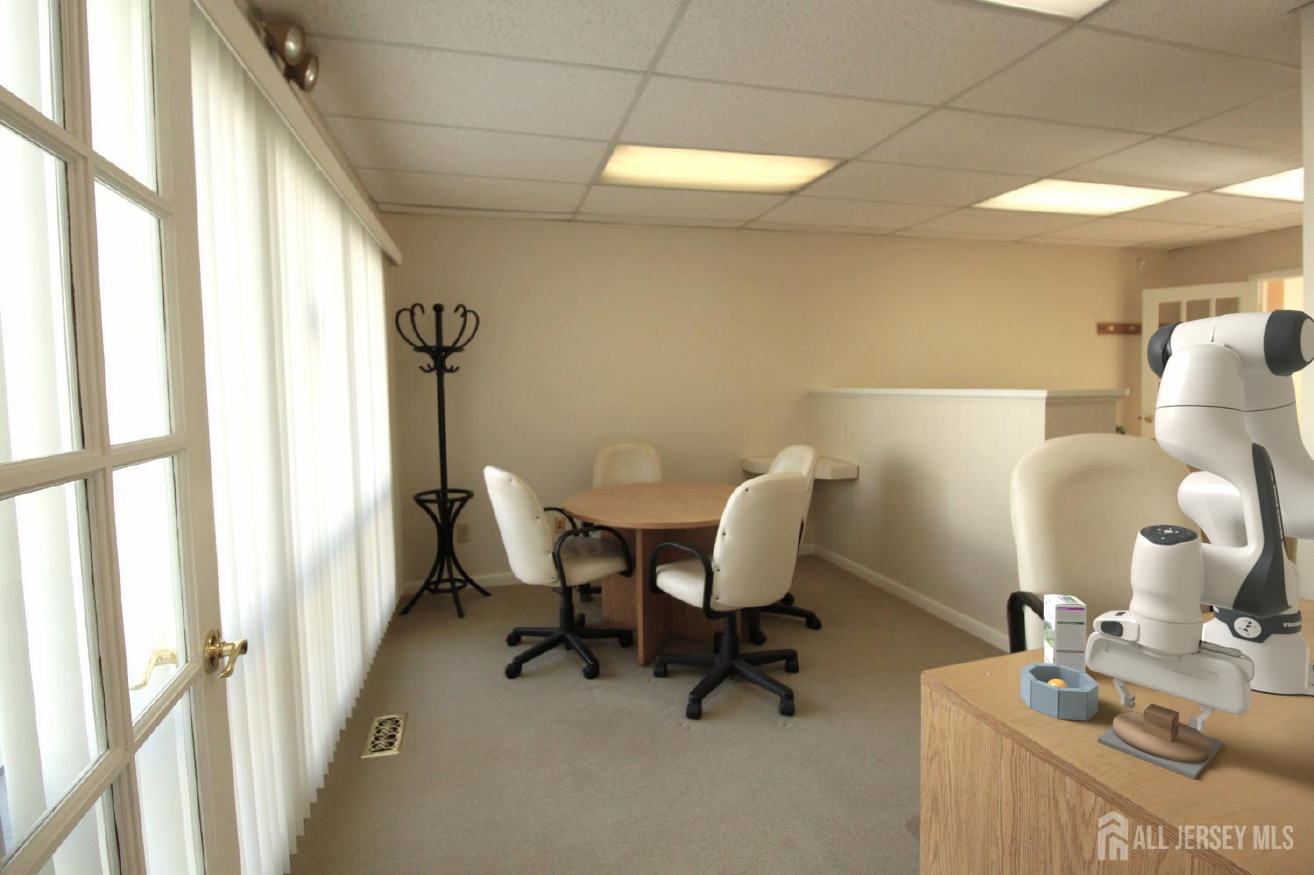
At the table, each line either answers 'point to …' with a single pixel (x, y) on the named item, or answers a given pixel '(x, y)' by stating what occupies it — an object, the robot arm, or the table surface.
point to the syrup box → (1065, 631)
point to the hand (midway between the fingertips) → (1161, 717)
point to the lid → (1162, 735)
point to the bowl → (1059, 691)
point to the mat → (1181, 767)
